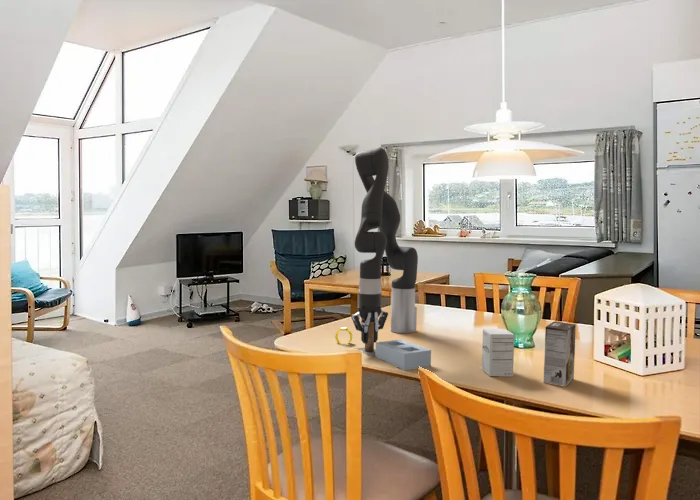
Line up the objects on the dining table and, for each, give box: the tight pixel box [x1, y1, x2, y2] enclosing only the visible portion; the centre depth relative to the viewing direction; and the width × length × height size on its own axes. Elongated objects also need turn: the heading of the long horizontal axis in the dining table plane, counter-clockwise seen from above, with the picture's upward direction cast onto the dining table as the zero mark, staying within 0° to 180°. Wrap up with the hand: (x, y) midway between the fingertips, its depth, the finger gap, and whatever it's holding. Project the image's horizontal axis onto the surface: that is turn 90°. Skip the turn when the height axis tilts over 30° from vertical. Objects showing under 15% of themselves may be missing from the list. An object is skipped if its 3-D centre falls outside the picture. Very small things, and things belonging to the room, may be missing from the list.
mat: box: [355, 346, 376, 357], centre depth 191 cm, size 6×10×1 cm, turn 30°
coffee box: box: [543, 321, 577, 387], centre depth 161 cm, size 9×6×16 cm
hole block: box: [374, 339, 432, 371], centre depth 180 cm, size 10×16×5 cm, turn 30°
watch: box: [334, 326, 353, 345], centre depth 202 cm, size 6×3×6 cm, turn 71°
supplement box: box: [481, 328, 515, 377], centre depth 168 cm, size 7×7×13 cm
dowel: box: [364, 321, 375, 352], centre depth 191 cm, size 3×3×10 cm
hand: (369, 342), depth 191 cm, fingers closed on dowel, 3 cm apart
